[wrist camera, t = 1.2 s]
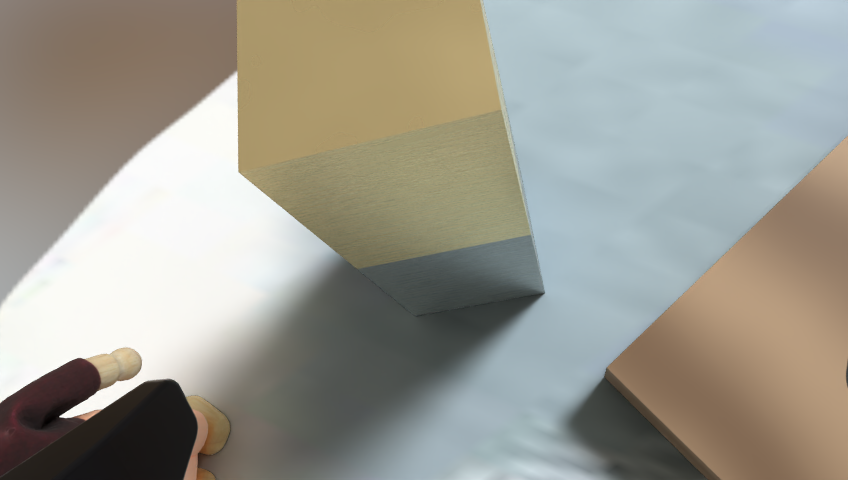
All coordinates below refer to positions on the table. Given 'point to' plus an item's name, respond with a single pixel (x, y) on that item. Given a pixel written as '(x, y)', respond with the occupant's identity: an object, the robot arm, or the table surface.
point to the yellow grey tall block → (389, 143)
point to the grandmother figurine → (74, 383)
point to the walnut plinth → (758, 346)
